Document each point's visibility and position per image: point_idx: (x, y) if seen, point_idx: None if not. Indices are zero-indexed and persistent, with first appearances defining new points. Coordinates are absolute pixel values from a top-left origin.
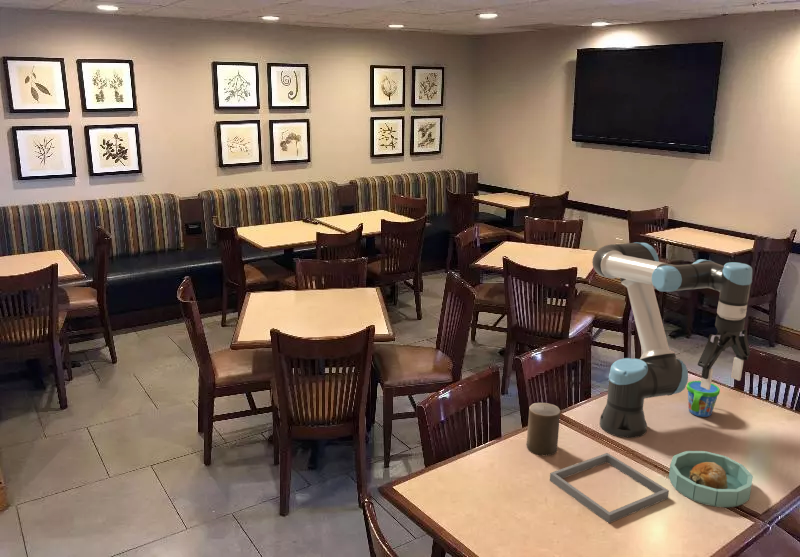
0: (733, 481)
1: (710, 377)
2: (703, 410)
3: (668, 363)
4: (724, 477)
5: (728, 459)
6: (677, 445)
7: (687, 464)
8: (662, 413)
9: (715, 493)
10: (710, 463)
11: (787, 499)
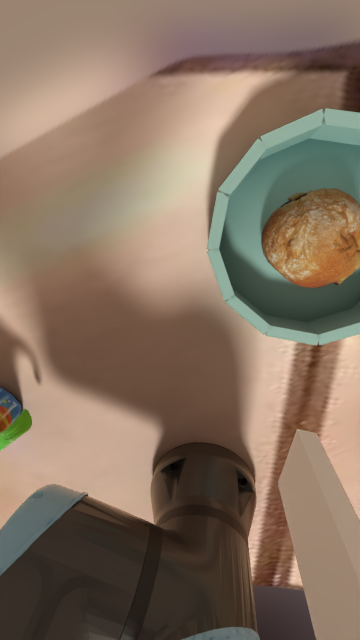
0: (248, 200)
1: (355, 525)
2: (4, 404)
3: (42, 634)
4: (324, 195)
5: (219, 235)
6: (181, 374)
7: (264, 315)
8: (74, 457)
9: None
10: (320, 246)
11: (214, 58)
